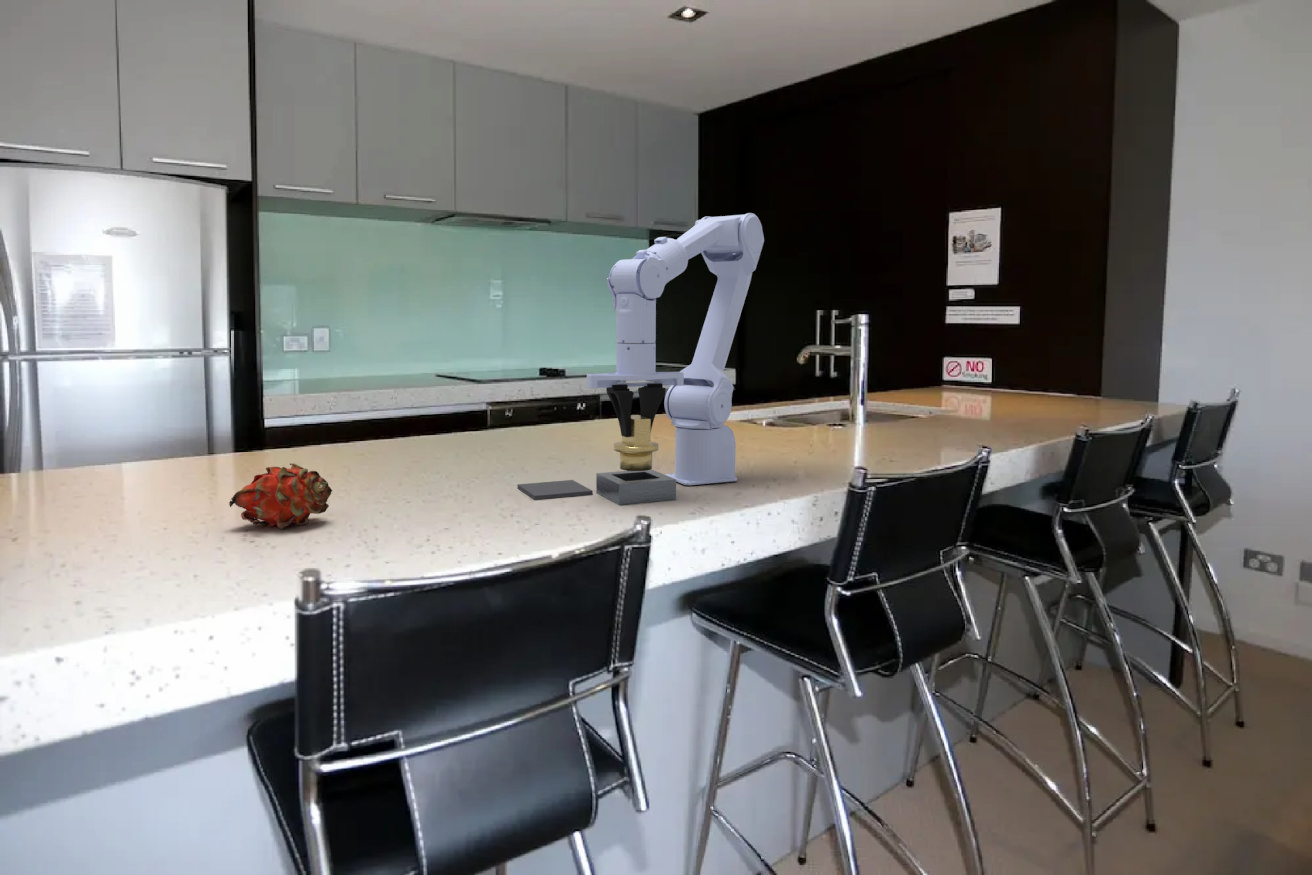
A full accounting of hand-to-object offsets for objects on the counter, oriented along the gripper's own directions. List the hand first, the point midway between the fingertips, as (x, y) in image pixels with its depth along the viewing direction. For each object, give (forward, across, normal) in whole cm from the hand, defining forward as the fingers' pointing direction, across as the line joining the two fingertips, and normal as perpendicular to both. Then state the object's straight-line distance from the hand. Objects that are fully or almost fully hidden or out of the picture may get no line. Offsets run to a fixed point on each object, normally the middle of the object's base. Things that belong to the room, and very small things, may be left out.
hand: (635, 435), depth 124 cm
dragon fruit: (+9, +48, 0) cm, 49 cm away
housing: (+9, 0, 0) cm, 9 cm away
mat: (+9, +10, -8) cm, 16 cm away
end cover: (+5, 0, 0) cm, 5 cm away
